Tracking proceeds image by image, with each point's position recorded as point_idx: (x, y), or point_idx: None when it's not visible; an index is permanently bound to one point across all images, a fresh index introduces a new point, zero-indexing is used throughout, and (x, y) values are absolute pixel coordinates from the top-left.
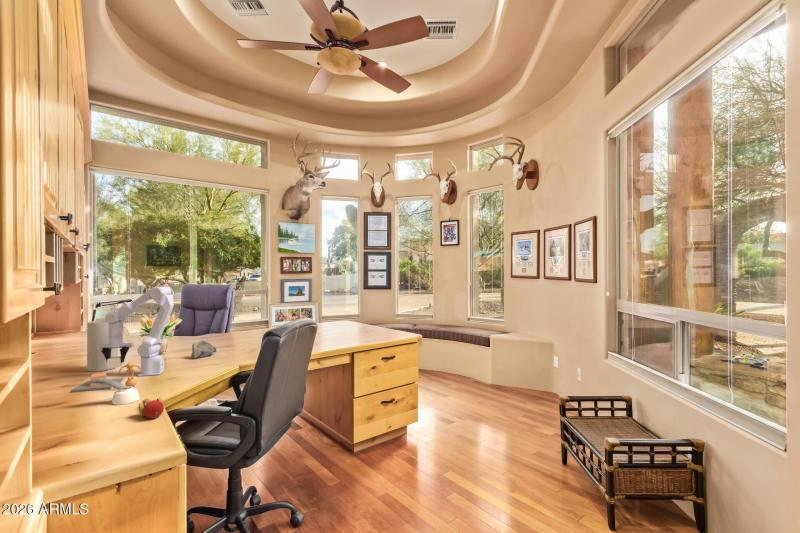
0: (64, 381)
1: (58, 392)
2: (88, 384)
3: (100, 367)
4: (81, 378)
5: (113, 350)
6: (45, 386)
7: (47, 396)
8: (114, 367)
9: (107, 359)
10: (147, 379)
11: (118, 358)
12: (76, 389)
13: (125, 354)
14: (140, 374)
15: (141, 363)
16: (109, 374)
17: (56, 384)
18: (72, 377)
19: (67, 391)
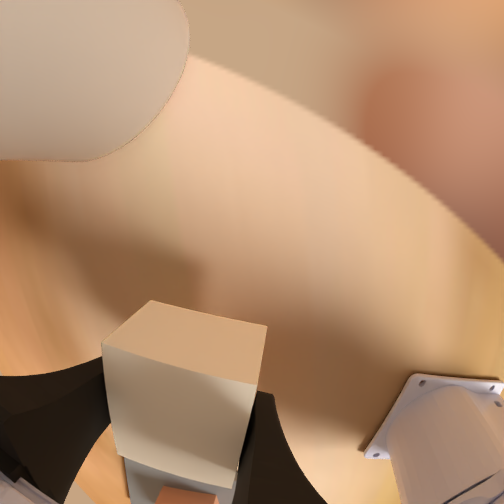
0: (18, 327)
1: (94, 476)
2: (158, 493)
3: (73, 160)
4: (53, 312)
5: (44, 39)
6: (6, 366)
7: (90, 488)
8: (172, 92)
9: (119, 454)
10: (388, 497)
11: (216, 476)
12: None
13: (283, 462)
14: (380, 448)
15: (400, 497)
16: (175, 304)
17: (20, 363)
18: (12, 253)
19: (116, 485)
